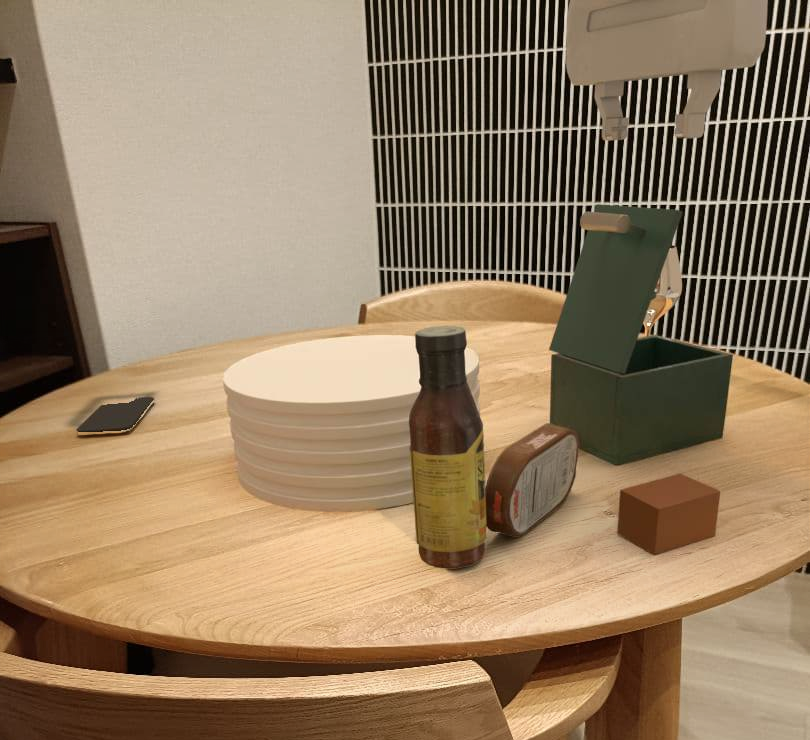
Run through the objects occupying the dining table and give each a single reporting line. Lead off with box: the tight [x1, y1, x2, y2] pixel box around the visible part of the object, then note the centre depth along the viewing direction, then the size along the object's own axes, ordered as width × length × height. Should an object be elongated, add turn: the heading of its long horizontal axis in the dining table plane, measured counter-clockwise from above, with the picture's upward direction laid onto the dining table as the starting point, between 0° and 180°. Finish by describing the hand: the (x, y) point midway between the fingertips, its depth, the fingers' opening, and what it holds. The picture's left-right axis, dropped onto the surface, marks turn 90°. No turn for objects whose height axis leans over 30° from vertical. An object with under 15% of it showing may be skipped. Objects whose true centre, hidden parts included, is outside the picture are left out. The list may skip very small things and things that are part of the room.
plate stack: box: [222, 334, 481, 513], centre depth 93 cm, size 28×28×12 cm
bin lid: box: [548, 203, 684, 374], centre depth 87 cm, size 16×13×5 cm
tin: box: [485, 422, 580, 538], centre depth 77 cm, size 15×3×8 cm, turn 145°
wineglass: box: [643, 244, 683, 337], centre depth 116 cm, size 8×8×18 cm
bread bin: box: [549, 334, 734, 466], centre depth 96 cm, size 16×13×10 cm
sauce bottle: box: [409, 325, 488, 570], centre depth 69 cm, size 6×6×20 cm
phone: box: [76, 396, 155, 432], centre depth 115 cm, size 7×1×15 cm
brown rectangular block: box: [616, 473, 721, 556], centre depth 73 cm, size 7×5×4 cm
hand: (649, 139), depth 70 cm, fingers open, 8 cm apart
